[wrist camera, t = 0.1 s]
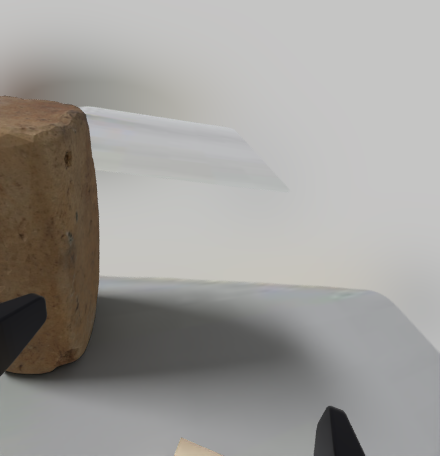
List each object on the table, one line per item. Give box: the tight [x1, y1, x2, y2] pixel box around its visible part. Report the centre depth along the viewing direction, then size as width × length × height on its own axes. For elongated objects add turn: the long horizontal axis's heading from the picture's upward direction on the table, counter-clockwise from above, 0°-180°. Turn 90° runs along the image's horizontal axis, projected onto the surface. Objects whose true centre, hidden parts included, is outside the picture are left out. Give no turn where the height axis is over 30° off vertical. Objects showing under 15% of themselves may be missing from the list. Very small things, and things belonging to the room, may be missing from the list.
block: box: [0, 96, 99, 374], centre depth 24 cm, size 11×8×20 cm
